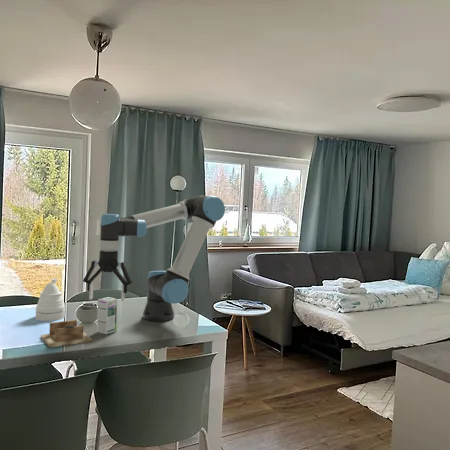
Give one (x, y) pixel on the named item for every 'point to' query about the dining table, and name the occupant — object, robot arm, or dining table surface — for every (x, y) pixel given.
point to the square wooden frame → (65, 334)
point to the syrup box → (107, 315)
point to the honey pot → (50, 303)
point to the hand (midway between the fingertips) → (106, 299)
